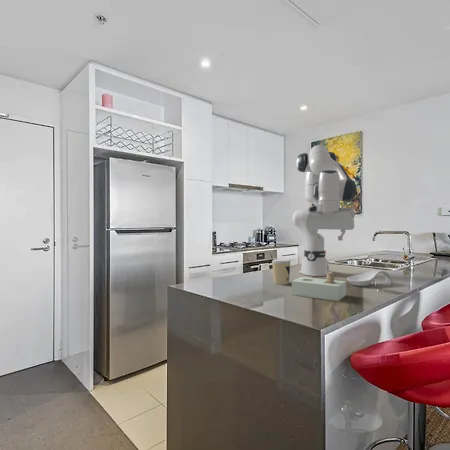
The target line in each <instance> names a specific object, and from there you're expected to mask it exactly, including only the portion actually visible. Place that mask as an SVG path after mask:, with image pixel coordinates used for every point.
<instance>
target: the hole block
mask: <svg viewBox="0 0 450 450" xmlns="http://www.w3.org/2000/svg"><path fill="white" fill-rule="evenodd" d="M291 295H292V296H298V297H299V296H300V297H306V298H314V299H319V300H321V299H322V300H326V301H334V302H339V301H341V300H343V298H344V297H345V296H346V295H347V281H346V280H336V279H334V284H330V283H327V278H319V277H317V278H316V277H309V276H308V277H307V276H300V277H297V278H295V279H293V280H292V281H291Z"/></svg>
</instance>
